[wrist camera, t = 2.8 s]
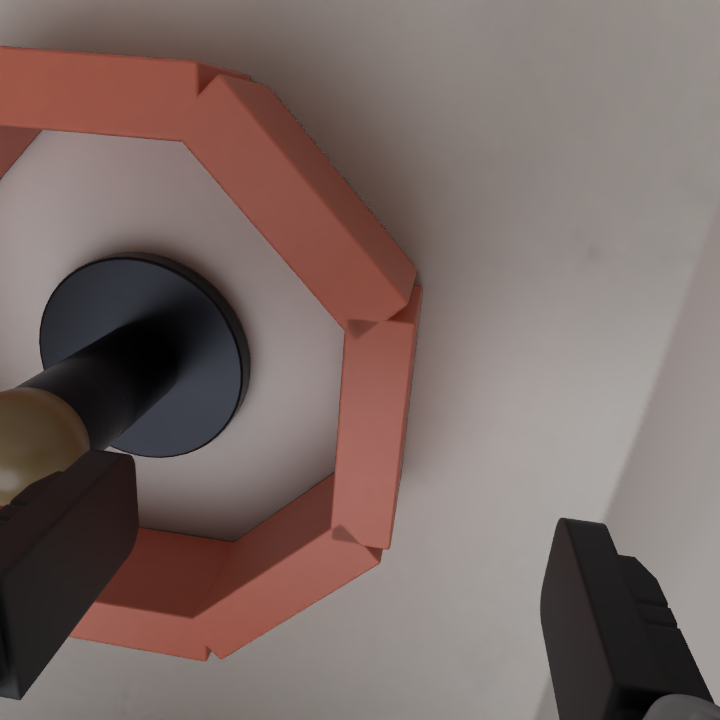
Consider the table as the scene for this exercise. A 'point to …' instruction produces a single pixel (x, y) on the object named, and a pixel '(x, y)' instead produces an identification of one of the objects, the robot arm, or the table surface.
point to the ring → (322, 277)
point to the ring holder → (124, 369)
